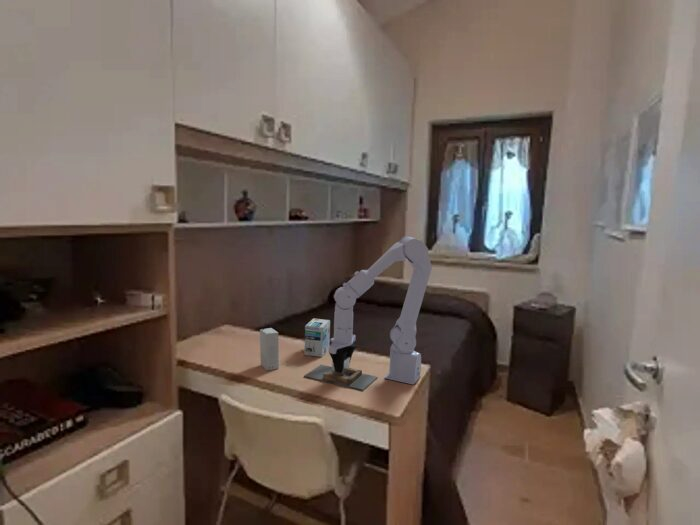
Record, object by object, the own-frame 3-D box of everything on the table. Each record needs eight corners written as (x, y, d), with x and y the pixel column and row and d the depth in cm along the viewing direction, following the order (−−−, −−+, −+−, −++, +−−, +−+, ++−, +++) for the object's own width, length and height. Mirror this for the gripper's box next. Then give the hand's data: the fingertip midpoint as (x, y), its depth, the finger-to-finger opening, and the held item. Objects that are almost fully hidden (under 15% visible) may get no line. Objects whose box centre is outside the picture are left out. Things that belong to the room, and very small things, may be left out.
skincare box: (279, 368, 145) (280, 332, 143) (266, 371, 143) (266, 334, 141) (271, 362, 150) (272, 327, 149) (259, 364, 148) (259, 328, 146)
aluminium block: (348, 375, 141) (349, 356, 140) (343, 379, 138) (344, 360, 137) (337, 372, 143) (338, 354, 142) (331, 376, 139) (332, 358, 138)
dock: (377, 378, 141) (377, 372, 141) (363, 391, 131) (363, 384, 131) (321, 365, 149) (321, 360, 149) (303, 377, 139) (303, 371, 139)
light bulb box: (322, 357, 157) (323, 327, 156) (303, 355, 158) (304, 325, 157) (329, 347, 167) (330, 319, 166) (312, 346, 169) (313, 317, 167)
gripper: (342, 319, 146) (340, 359, 148) (320, 330, 133) (319, 374, 135) (362, 322, 143) (360, 363, 145) (341, 334, 130) (340, 379, 132)
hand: (341, 369), depth 140 cm, fingers closed on aluminium block, 4 cm apart
